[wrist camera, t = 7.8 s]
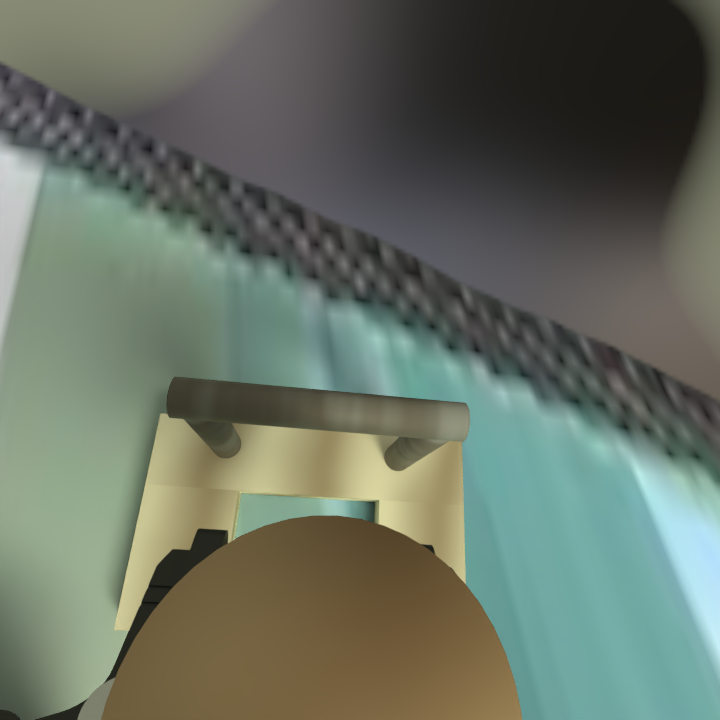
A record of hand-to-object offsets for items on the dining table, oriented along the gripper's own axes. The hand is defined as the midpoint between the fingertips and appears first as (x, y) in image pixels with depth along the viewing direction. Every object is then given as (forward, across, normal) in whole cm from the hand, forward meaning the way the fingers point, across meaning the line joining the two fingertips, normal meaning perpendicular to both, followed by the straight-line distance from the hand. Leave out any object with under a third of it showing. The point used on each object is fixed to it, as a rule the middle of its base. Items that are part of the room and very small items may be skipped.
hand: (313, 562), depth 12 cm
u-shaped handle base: (+12, 0, +11) cm, 16 cm away
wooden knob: (+2, 0, +4) cm, 5 cm away
